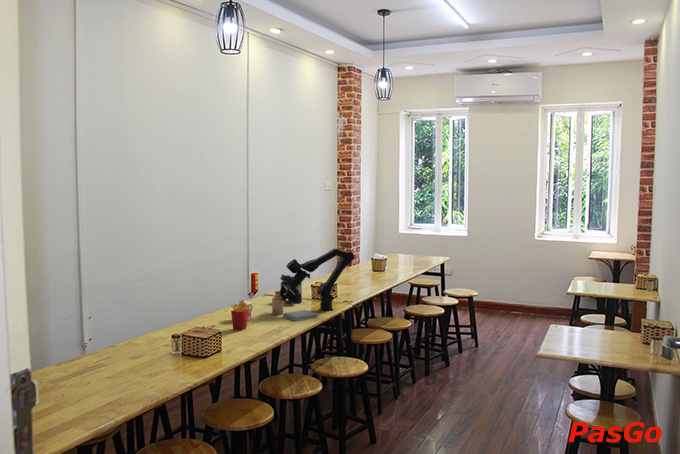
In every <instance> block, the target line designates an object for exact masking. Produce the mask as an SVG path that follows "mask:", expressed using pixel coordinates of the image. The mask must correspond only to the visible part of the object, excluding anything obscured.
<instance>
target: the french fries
mask: <svg viewBox="0 0 680 454" xmlns="http://www.w3.org/2000/svg"><path fill="white" fill-rule="evenodd" d="M236 306H237V307H238V309H237V308H236ZM249 306H250V304H249V305H247V304H246V303H244V301H241V302H240V303H239V306H238V305H235V304H234V305H233V304H230V307H231V308H232V309H233V310H231V311H230V313H231V322H232V329H233V331H240V332H241V331H245V330H246V329H247V326H248V321H247V318H248V310H246V308H248V307H249ZM241 307H242V309H241Z"/></svg>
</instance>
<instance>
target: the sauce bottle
mask: <svg viewBox="0 0 680 454" xmlns="http://www.w3.org/2000/svg"><path fill="white" fill-rule="evenodd" d="M280 293H281V292H280V290H277V291H274V295H275V296H273V298H271V314H272V315H273V316H283V313H284V301H282V300H281V299H282V297H281V296H280Z"/></svg>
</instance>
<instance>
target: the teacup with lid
mask: <svg viewBox="0 0 680 454" xmlns="http://www.w3.org/2000/svg"><path fill="white" fill-rule="evenodd" d="M241 301H244V303H246V304H247V305H249V304H250V306H249V307H248V308H246V310H248V318H247V322H248V321H250V320H252V311H253V305H252V302H251V301H248V300H246V298H244V297H242V298H241V300H239V301H237V302H235V305H238V306H239V303H240V302H241ZM236 308H237V309H238V307H237V306H236ZM241 309H242V307H241Z"/></svg>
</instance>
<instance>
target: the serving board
mask: <svg viewBox="0 0 680 454" xmlns="http://www.w3.org/2000/svg"><path fill="white" fill-rule="evenodd" d="M282 317H283V318H286V319H288V320H291V321H294V322H298V321H303V320H309V319H314V318H318V313H316V312H312V311H310V310H306V309H301V310H296V311H290V312H283V314H282Z"/></svg>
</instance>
